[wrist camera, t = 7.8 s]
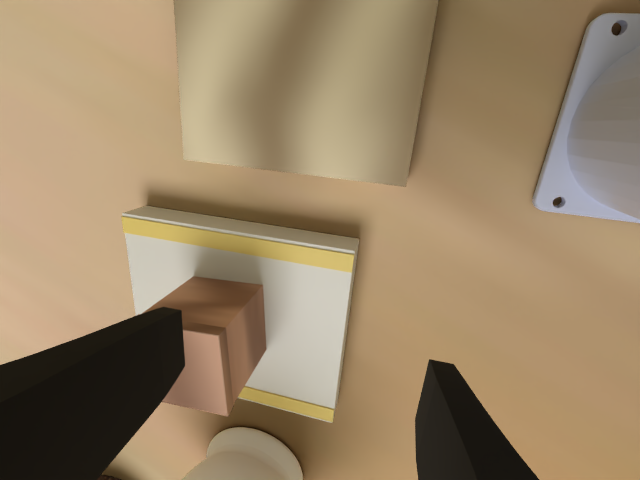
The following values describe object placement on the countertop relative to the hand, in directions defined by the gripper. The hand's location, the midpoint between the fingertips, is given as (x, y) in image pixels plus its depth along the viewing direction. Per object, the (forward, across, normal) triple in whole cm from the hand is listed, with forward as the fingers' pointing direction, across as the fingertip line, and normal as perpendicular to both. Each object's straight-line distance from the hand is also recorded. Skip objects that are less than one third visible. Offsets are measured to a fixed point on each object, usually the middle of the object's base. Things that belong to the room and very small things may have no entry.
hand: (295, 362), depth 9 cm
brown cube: (+9, +6, +5) cm, 12 cm away
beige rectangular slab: (+10, +3, -8) cm, 14 cm away
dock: (+11, +6, +6) cm, 13 cm away
